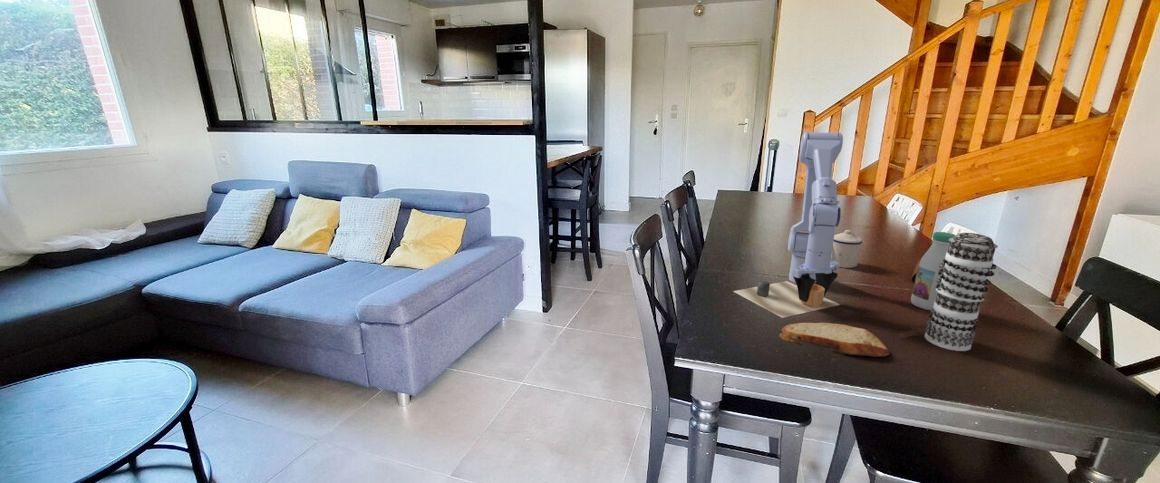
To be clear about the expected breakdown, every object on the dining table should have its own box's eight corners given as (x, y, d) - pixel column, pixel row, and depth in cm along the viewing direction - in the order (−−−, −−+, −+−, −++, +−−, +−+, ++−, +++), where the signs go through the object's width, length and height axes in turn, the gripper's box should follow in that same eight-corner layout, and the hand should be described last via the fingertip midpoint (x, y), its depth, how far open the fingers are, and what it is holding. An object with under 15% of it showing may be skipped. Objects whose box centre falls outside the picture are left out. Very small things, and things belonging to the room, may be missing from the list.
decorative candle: (977, 356, 98) (1009, 244, 91) (923, 344, 102) (950, 237, 95) (970, 338, 105) (999, 233, 98) (920, 328, 110) (945, 227, 103)
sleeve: (810, 296, 125) (812, 282, 124) (827, 303, 120) (829, 289, 119) (795, 299, 123) (797, 285, 122) (811, 307, 118) (814, 292, 117)
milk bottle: (941, 302, 124) (959, 231, 118) (949, 314, 117) (968, 239, 111) (907, 298, 127) (923, 228, 121) (913, 308, 120) (930, 235, 114)
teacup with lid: (850, 260, 157) (856, 227, 154) (862, 269, 149) (869, 234, 145) (813, 258, 159) (818, 226, 155) (824, 267, 150) (829, 233, 147)
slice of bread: (771, 334, 108) (773, 320, 107) (825, 320, 115) (828, 306, 114) (840, 374, 92) (843, 357, 91) (898, 355, 99) (901, 339, 98)
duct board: (786, 284, 137) (788, 270, 135) (839, 308, 121) (842, 292, 119) (732, 294, 129) (734, 279, 128) (781, 321, 113) (784, 304, 112)
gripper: (811, 258, 111) (803, 309, 115) (853, 251, 117) (844, 300, 121) (788, 249, 118) (781, 298, 122) (829, 243, 123) (821, 290, 127)
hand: (811, 298), depth 121 cm, fingers closed on sleeve, 5 cm apart
